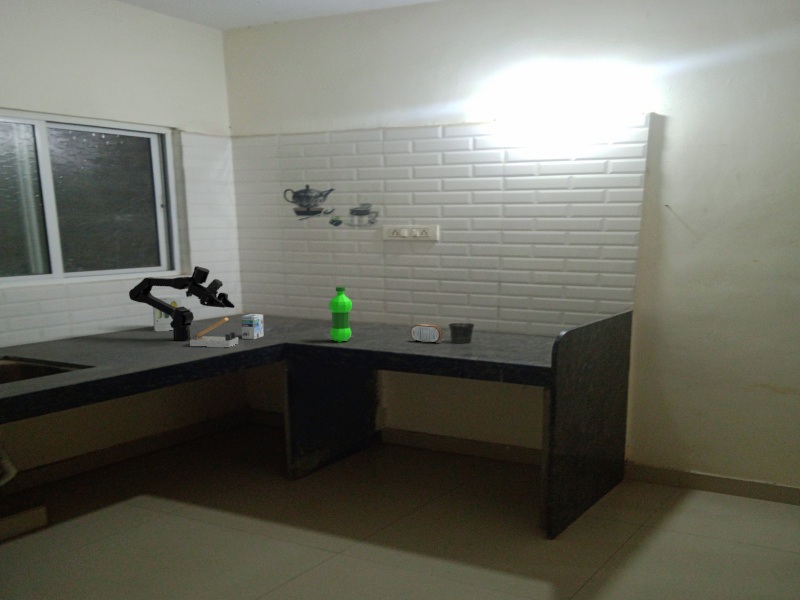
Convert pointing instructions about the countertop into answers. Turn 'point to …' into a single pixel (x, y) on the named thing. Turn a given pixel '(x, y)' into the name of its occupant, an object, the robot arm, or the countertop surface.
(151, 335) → the countertop surface
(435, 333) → the tin
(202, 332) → the bar
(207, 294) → the robot arm
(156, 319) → the supplement box
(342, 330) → the plastic bottle
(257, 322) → the light bulb box
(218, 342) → the grey fixture base
